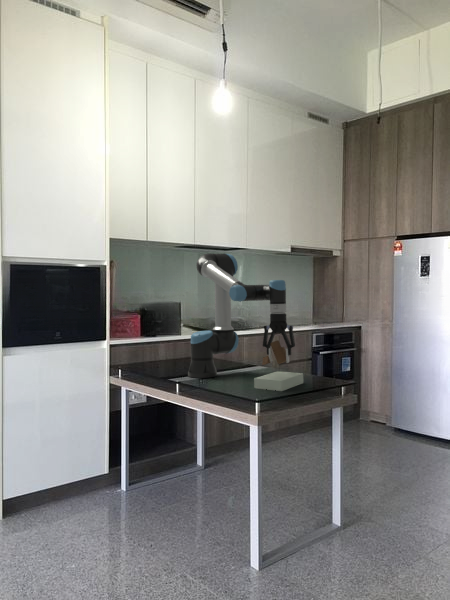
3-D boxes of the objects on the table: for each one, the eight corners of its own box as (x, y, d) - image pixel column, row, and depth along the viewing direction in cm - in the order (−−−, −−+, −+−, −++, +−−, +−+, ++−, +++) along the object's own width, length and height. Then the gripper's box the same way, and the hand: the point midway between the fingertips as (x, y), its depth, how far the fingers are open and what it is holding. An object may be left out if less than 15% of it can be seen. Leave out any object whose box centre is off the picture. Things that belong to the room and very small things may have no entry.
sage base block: (254, 389, 227) (254, 378, 227) (277, 381, 245) (277, 371, 245) (281, 392, 219) (281, 380, 219) (303, 383, 237) (303, 373, 237)
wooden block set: (281, 365, 242) (274, 345, 244) (296, 359, 237) (288, 339, 240) (263, 368, 227) (255, 347, 229) (279, 362, 222) (271, 341, 225)
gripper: (254, 313, 232) (255, 362, 232) (297, 313, 224) (298, 363, 224) (259, 312, 239) (260, 360, 239) (301, 312, 231) (302, 361, 231)
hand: (279, 362), depth 232 cm, fingers closed on wooden block set, 8 cm apart
